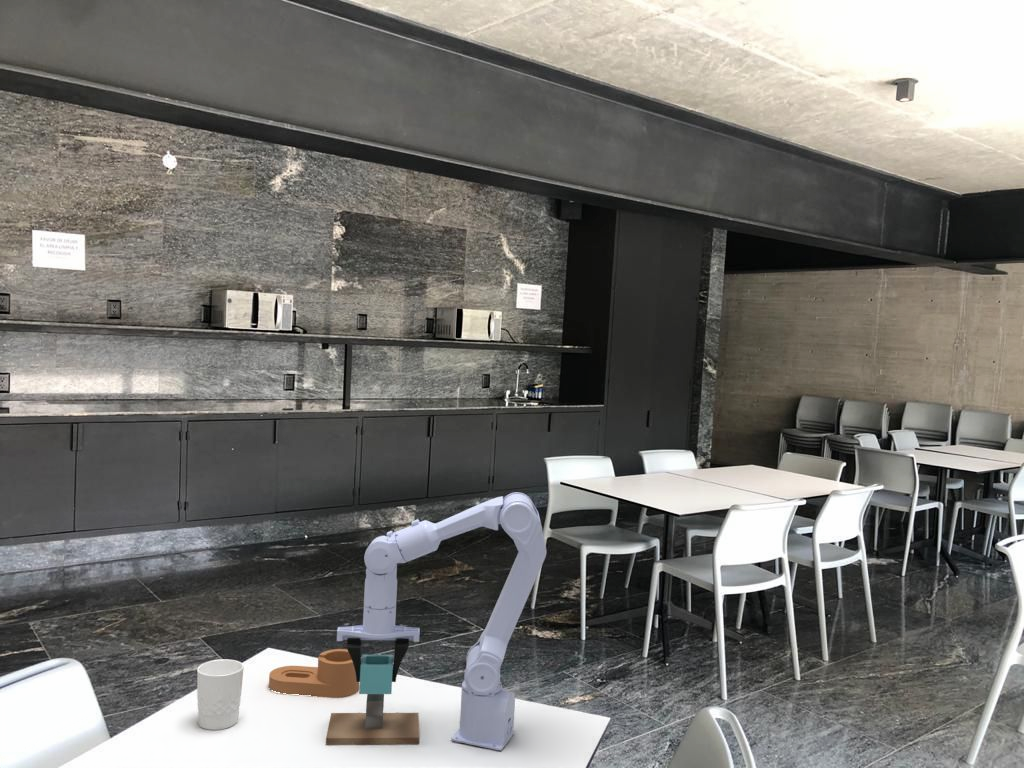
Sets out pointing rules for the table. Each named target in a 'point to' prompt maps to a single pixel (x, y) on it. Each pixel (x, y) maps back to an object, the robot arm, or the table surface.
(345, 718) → the post stand
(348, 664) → the bracket
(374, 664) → the teal collar
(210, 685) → the white cup
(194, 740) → the table surface
